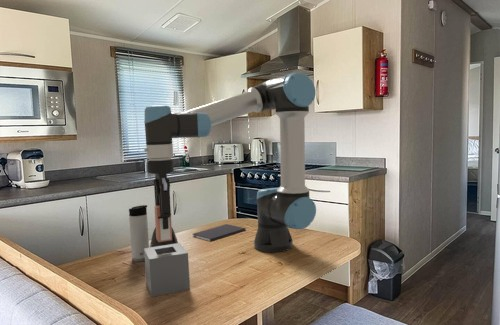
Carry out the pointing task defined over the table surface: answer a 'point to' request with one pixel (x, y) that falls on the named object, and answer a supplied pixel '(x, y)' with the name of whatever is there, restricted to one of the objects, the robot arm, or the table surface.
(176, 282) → the socket block
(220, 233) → the notebook
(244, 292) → the table surface
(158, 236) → the peg
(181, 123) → the robot arm
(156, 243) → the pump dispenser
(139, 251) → the travel mug
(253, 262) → the table surface
